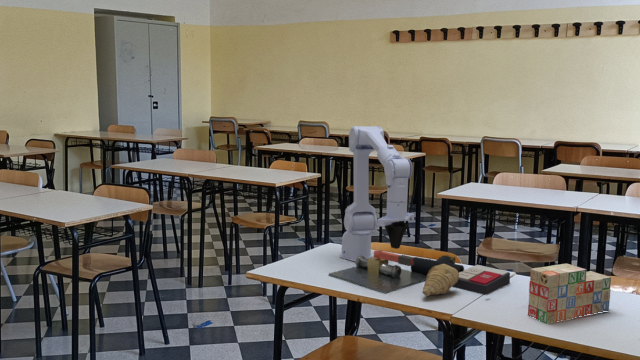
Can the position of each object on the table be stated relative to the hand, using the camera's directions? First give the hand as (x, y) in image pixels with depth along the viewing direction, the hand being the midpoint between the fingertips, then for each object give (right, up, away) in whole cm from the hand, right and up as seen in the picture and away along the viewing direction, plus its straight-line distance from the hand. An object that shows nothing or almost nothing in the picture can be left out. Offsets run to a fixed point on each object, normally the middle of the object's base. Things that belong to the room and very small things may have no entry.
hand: (395, 247), depth 172 cm
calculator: (+25, -11, +1) cm, 27 cm away
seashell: (+10, -12, -9) cm, 18 cm away
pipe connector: (+15, -10, +11) cm, 22 cm away
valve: (-4, -9, +7) cm, 12 cm away
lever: (0, -5, +6) cm, 8 cm away
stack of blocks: (+41, -14, -22) cm, 48 cm away
